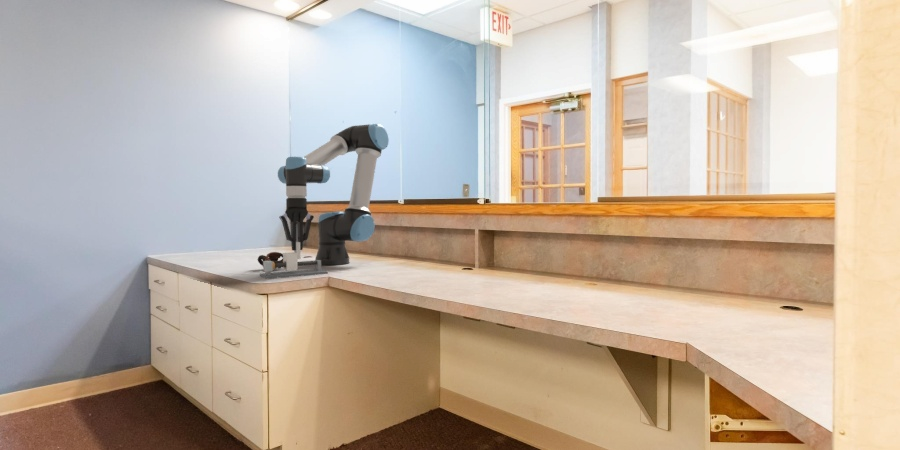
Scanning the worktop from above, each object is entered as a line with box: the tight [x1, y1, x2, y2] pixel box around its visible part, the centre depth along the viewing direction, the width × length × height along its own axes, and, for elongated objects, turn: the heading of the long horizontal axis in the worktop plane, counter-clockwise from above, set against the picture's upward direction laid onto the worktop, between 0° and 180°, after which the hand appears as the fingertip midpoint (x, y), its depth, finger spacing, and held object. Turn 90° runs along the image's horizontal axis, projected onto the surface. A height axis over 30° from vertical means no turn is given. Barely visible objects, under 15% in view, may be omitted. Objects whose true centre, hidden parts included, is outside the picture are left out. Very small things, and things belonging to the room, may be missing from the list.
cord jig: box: [259, 259, 329, 279], centre depth 196 cm, size 23×10×6 cm, turn 125°
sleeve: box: [282, 251, 299, 271], centre depth 195 cm, size 4×5×6 cm
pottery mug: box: [257, 251, 283, 269], centre depth 211 cm, size 12×10×8 cm
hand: (297, 258), depth 196 cm, fingers closed
